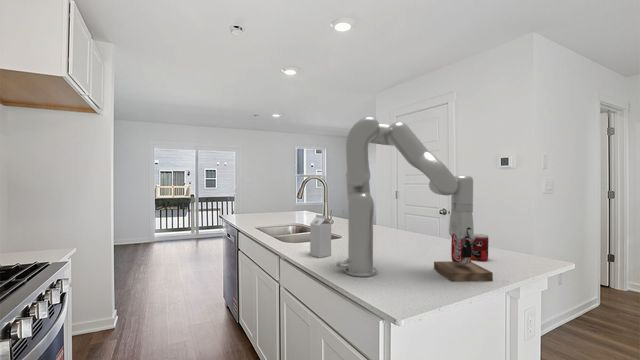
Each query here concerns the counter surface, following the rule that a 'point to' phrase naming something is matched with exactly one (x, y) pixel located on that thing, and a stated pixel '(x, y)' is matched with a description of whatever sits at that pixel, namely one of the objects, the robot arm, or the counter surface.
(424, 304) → the counter surface
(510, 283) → the counter surface
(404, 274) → the counter surface
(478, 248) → the canned food
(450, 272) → the walnut base
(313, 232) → the milk carton
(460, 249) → the soda can
